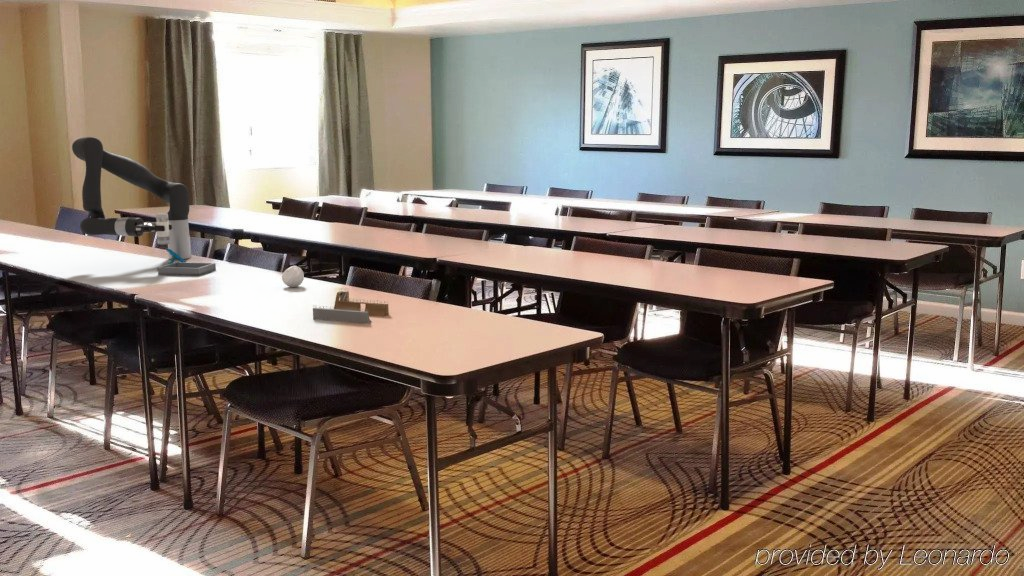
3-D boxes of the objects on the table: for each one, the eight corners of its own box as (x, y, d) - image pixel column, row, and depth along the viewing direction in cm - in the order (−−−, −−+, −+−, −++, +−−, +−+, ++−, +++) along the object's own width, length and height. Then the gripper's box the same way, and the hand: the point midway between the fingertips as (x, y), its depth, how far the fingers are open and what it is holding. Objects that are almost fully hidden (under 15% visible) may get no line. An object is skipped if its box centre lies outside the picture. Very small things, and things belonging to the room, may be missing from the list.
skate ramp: (290, 323, 287) (289, 299, 285) (349, 302, 319) (348, 280, 318) (374, 330, 276) (374, 305, 275) (427, 308, 309) (426, 285, 307)
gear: (189, 262, 394) (170, 246, 391) (180, 273, 393) (160, 257, 389) (185, 262, 404) (166, 247, 400) (176, 272, 402) (157, 257, 399)
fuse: (161, 242, 381) (159, 213, 379) (172, 243, 380) (170, 213, 378) (155, 244, 377) (153, 214, 375) (165, 244, 376) (163, 214, 374)
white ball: (278, 287, 344) (277, 266, 342) (293, 284, 350) (292, 263, 348) (293, 289, 339) (292, 268, 338) (309, 286, 345) (308, 265, 344)
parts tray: (176, 269, 386) (175, 262, 386) (215, 270, 383) (215, 263, 382) (158, 274, 373) (157, 267, 372) (199, 275, 370) (198, 268, 369)
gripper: (118, 219, 373) (157, 220, 369) (139, 215, 387) (177, 216, 383) (119, 238, 374) (158, 239, 371) (140, 233, 388) (178, 234, 385)
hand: (167, 227), depth 377 cm, fingers closed on fuse, 4 cm apart
